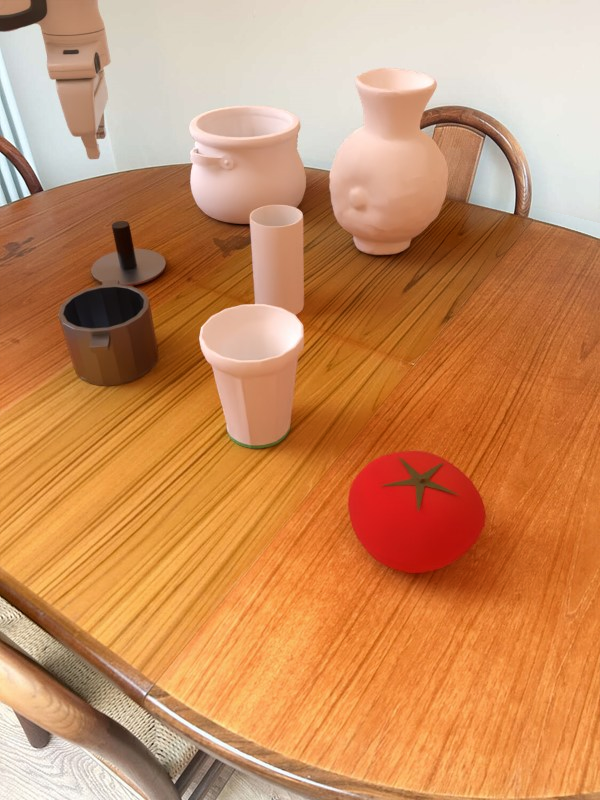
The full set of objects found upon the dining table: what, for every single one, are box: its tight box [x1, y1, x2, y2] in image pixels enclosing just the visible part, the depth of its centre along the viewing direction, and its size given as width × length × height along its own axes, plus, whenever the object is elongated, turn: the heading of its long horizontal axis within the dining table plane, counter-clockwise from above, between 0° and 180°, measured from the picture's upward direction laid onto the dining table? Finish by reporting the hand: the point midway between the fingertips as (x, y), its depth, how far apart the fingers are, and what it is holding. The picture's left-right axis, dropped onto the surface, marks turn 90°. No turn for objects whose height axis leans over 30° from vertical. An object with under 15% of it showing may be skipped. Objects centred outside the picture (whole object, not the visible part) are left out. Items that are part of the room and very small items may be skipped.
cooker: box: [57, 279, 159, 387], centre depth 96 cm, size 12×18×10 cm
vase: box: [328, 67, 450, 256], centre depth 117 cm, size 19×21×30 cm
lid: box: [90, 220, 167, 287], centre depth 117 cm, size 13×13×9 cm
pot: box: [188, 105, 307, 225], centre depth 137 cm, size 26×24×18 cm
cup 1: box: [249, 205, 305, 316], centre depth 105 cm, size 8×8×16 cm
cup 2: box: [198, 303, 305, 449], centre depth 82 cm, size 12×12×15 cm
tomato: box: [347, 450, 487, 574], centre depth 69 cm, size 14×13×10 cm
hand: (97, 147), depth 105 cm, fingers open, 8 cm apart
